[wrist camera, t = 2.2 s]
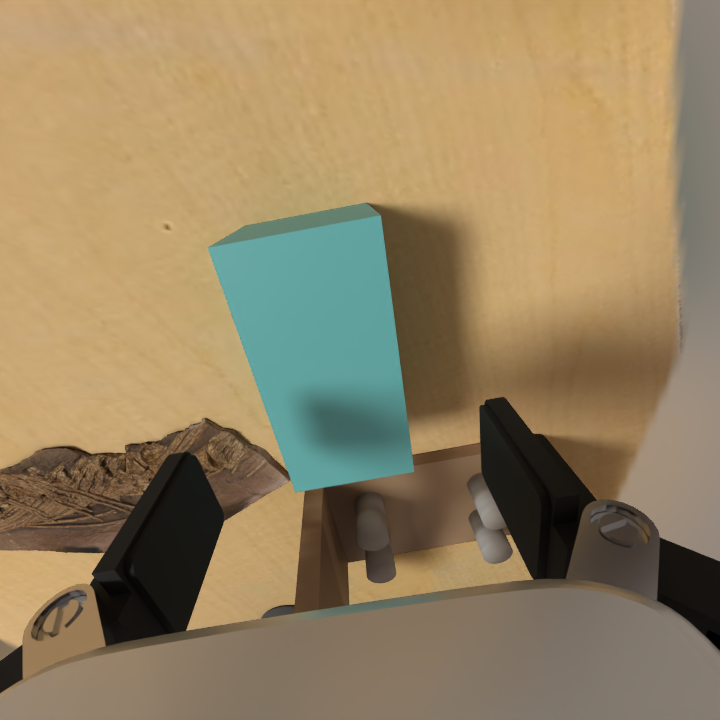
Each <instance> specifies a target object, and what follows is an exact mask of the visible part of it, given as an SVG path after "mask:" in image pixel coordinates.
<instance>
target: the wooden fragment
mask: <svg viewBox="0 0 720 720" xmlns="http://www.w3.org/2000/svg"><path fill="white" fill-rule="evenodd" d="M125 450H126V453H125V454H123V453H117V454H112V453H104V454H99V455H94V454H93V455H89V454H87V453H86V452H82V451H79V450H71V449H67V448H64V449H61V448H56V449H47V450H38V451H35V453H34V454H33V455H32V456H31V457H29V458H27V459H24V460H22V461H21V462H20V463H18V464H16V465H13V467H11V468H5V469H2V470H0V550H29V551H30V550H38V551H56V552H65V553H67V552H74V553H105V552H106V551H107V549H108V548H109V546H110V545H111V543H112V541H113V540H114V538H115V537H116V535H117V534H118V532H119V531H120V529H121V527H122V526H123V524H124V523H125V521H126V520H127V518H128V516H129V515H130V513H131V512H132V510H133V509H134V507H135V506H136V504H137V502H138V501H139V499H140V498H141V496H142V495H143V493H144V492H145V490H146V488H147V487H148V485H149V484H150V482H151V481H152V479H153V478H154V476H155V474H156V473H157V471H158V470H159V468H160V467H161V465H162V464H163V462H164V460H165V459H166V457H167V456H168V455H170V454H175V453H181V452H189V453H191V455H195V456H196V457H197V459H198V461H199V463H200V465H201V467H202V469H203V471H204V473H205V475H206V477H207V479H208V481H209V483H210V485H211V487H212V489H213V491H214V494H215V496H216V498H217V500H218V502H219V504H220V506H221V508H222V510H223V513H224V521H225V520H227V519H228V518H230V517H231V516H233V515H234V514H236V513H238V512H240V511H242V510H243V509H244V508H246V507H247V506H249V505H250V504H251V503H253V502H254V501H255V502H256V501H257V500H258V499H259V498H261V497H264V496H265V495H266V494H267V493H270V492H272V491H274V490H275V489H277V488H278V487H281V486H282V485H284V484H285V483H287V482H289V480H290V476H289V473H288V472H287V471H286V470H285V469H284V468H282V467H281V466H280V465H279V464H278V463H277V462H276V461H275V460H274V459H273V458H272V457H271V455H270V454H269V453H268V452H267V451H266V450H265V449H263V448H261V447H259V446H257V445H253V444H252V445H251V444H250V443H248V442H247V441H245V440H244V439H243V438H242V437H240V436H239V435H238V434H237V433H236V432H235V431H234V430H231V429H224V428H221V427H219V426H218V425H216V424H214V423H213V422H212V421H209V420H208V419H202V421H201V422H200V423H198V424H195V425H190V426H189V428H186V429H185V430H184V431H182V432H176V433H172V434H169V435H167V437H164V438H163V439H162V440H161V441H159V442H153V443H152V444H151V443H148V442H145V443H143V444H139V445H125Z"/></svg>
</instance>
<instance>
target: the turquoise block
mask: <svg viewBox="0 0 720 720" xmlns="http://www.w3.org/2000/svg"><path fill="white" fill-rule="evenodd" d="M208 250H209V253H210V256H211V258H212V261H213V264H214V267H215V270H216V272H217V275H218V278H219V281H220V283H221V286H222V289H223V292H224V295H225V297H226V300H227V303H228V306H229V309H230V311H231V314H232V317H233V320H234V323H235V325H236V328H237V331H238V334H239V336H240V339H241V342H242V345H243V348H244V350H245V353H246V356H247V359H248V362H249V364H250V367H251V370H252V373H253V376H254V378H255V381H256V384H257V387H258V389H259V392H260V395H261V398H262V401H263V403H264V406H265V409H266V412H267V415H268V417H269V420H270V423H271V426H272V429H273V431H274V434H275V437H276V440H277V442H278V445H279V448H280V451H281V454H282V456H283V459H284V462H285V465H286V468H287V470H288V473H289V476H290V479H291V482H292V484H293V487H294V490H295V493H296V492H301V491H307V490H313V489H319V488H324V487H330V486H336V485H342V484H348V483H353V482H359V481H365V480H371V479H376V478H382V477H388V476H394V475H399V474H405V473H411V472H414V465H413V458H412V450H411V442H410V435H409V427H408V419H407V412H406V404H405V396H404V389H403V381H402V373H401V366H400V358H399V350H398V343H397V335H396V327H395V320H394V312H393V304H392V297H391V289H390V281H389V274H388V266H387V258H386V251H385V243H384V235H383V228H382V220H381V215H380V214H379V213H378V212H377V211H375V210H374V209H373V208H372V207H371V206H370V205H369V204H367V203H363V204H358V205H352V206H347V207H342V208H336V209H331V210H326V211H320V212H315V213H310V214H305V215H299V216H294V217H289V218H283V219H278V220H273V221H267V222H262V223H257V224H251V225H246V226H244V227H242V228H240V229H239V230H237V231H235V232H234V233H232V234H230V235H228V236H227V237H225V238H223V239H222V240H220V241H218V242H217V243H215V244H213V245H212V246H210V247H208Z"/></svg>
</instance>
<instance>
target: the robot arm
mask: <svg viewBox="0 0 720 720" xmlns="http://www.w3.org/2000/svg"><path fill="white" fill-rule="evenodd" d="M480 443H481V470H482V475H483V478H484V480H485V483H486V485H487V487H488V489H489V491H490V493H491V495H492V497H493V499H494V501H495V503H496V505H497V507H498V509H499V511H500V513H501V515H502V517H503V519H504V521H505V524H506V526H507V528H508V530H509V532H510V534H511V536H512V538H513V540H514V542H515V544H516V546H517V548H518V550H519V552H520V554H521V556H522V558H523V560H524V562H525V564H526V567H527V569H528V571H529V573H530V575H531V576H532V578H533V579H534V580H525V581H513V582H505V583H498V584H490V585H483V586H475V587H467V588H460V589H453V590H446V591H439V592H433V593H426V594H419V595H412V596H406V597H399V598H392V599H386V600H379V601H372V602H366V603H359V604H353V605H346V606H340V607H333V608H327V609H321V610H314V611H308V612H301V613H295V614H289V615H282V616H276V617H269V618H263V619H257V620H251V621H244V622H238V623H232V624H226V625H220V626H214V627H207V628H201V629H195V630H189V631H186V629H187V626H188V624H189V621H190V618H191V615H192V612H193V609H194V606H195V603H196V601H197V598H198V595H199V592H200V589H201V586H202V583H203V580H204V578H205V575H206V572H207V569H208V566H209V563H210V560H211V557H212V555H213V552H214V549H215V546H216V543H217V540H218V537H219V534H220V532H221V529H222V526H223V523H224V513H223V510H222V508H221V506H220V504H219V502H218V500H217V498H216V496H215V494H214V491H213V489H212V487H211V485H210V483H209V481H208V479H207V477H206V475H205V473H204V471H203V469H202V467H201V465H200V463H199V461H198V459H197V457H196V456H195V455H191V453H189V452H181V453H175V454H170V455H168V456H167V457H166V459H165V460H164V462H163V464H162V465H161V467H160V468H159V470H158V471H157V473H156V474H155V476H154V478H153V479H152V481H151V482H150V484H149V485H148V487H147V488H146V490H145V492H144V493H143V495H142V496H141V498H140V499H139V501H138V502H137V504H136V506H135V507H134V509H133V510H132V512H131V513H130V515H129V516H128V518H127V520H126V521H125V523H124V524H123V526H122V527H121V529H120V531H119V532H118V534H117V535H116V537H115V538H114V540H113V541H112V543H111V545H110V546H109V548H108V549H107V551H106V552H105V554H104V555H103V557H102V559H101V560H100V562H99V563H98V565H97V566H96V568H95V569H94V571H93V573H92V575H93V576H94V579H93V580H92V582H91V584H90V585H88V584H77V585H74V586H71V587H68V588H67V589H65V590H63V591H61V592H59V593H58V594H56V595H55V596H54V597H52V598H51V599H50V600H48V601H47V602H46V603H45V604H44V605H43V606H42V607H41V608H40V609H39V610H38V611H37V612H36V613H35V615H34V616H33V617H32V618H31V620H30V621H29V623H28V625H27V627H26V629H25V631H24V635H23V645H21V646H20V647H19V648H17V649H16V650H15V651H13V652H12V653H11V654H9V655H8V656H6V657H5V658H4V659H2V660H1V661H0V720H720V561H717V560H715V559H712V558H710V557H707V556H704V555H702V554H699V553H697V552H695V551H692V550H690V549H687V548H685V547H682V546H680V545H677V544H674V543H672V542H669V541H667V540H665V539H662V538H660V537H659V532H658V529H657V528H656V526H655V525H654V523H653V522H652V521H651V520H650V519H649V518H648V517H647V516H646V515H645V514H644V513H642V512H641V511H639V510H638V509H636V508H634V507H632V506H630V505H627V504H625V503H623V502H618V501H614V500H598V501H597V500H596V499H595V497H594V496H593V495H592V494H591V493H590V491H589V490H588V489H587V488H586V486H585V485H584V484H583V483H582V482H581V480H580V479H579V478H578V477H577V475H576V474H575V473H574V472H573V470H572V469H571V468H570V467H569V466H568V464H567V463H566V462H565V461H564V459H563V458H562V457H561V456H560V455H559V453H558V452H557V451H556V450H555V448H554V447H553V446H552V445H551V444H550V442H549V441H548V440H547V439H546V438H545V437H544V436H543V435H542V434H533V433H532V432H531V430H530V429H529V428H528V427H527V425H526V424H525V423H524V421H523V420H522V419H521V418H520V416H519V415H518V414H517V412H516V411H515V410H514V409H513V407H512V406H511V405H510V403H509V402H508V401H507V400H506V398H505V397H500V398H495V399H489V400H486V401H485V405H481V406H480Z"/></svg>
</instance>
